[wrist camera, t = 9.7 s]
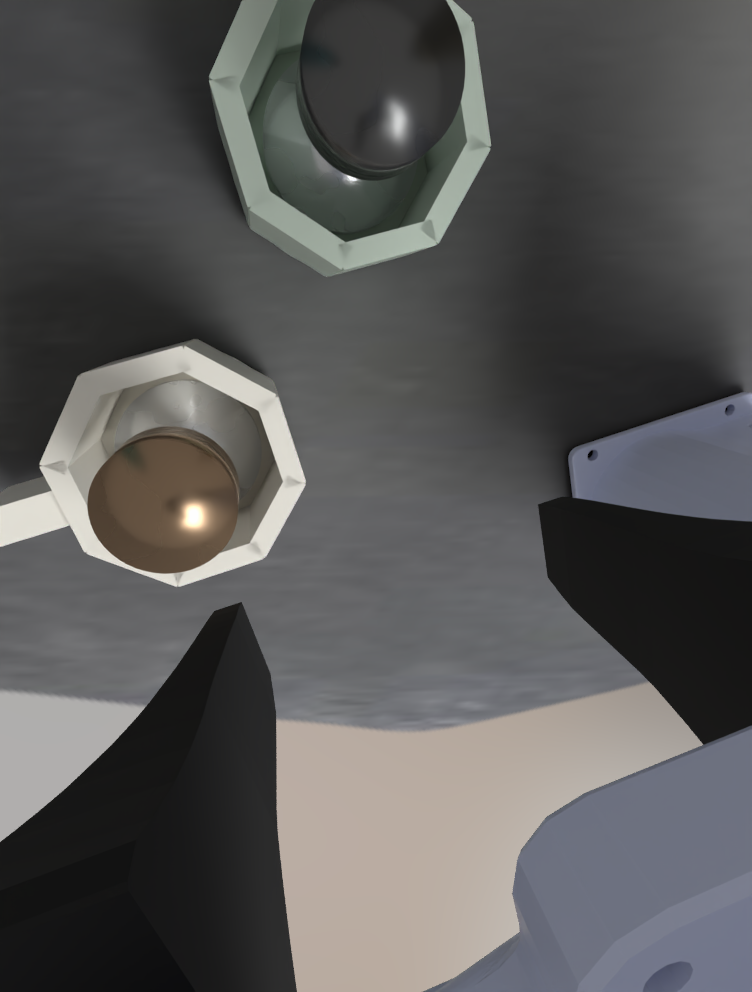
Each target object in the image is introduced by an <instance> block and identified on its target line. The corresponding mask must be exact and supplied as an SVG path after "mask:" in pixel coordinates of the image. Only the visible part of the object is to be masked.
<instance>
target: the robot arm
mask: <svg viewBox="0 0 752 992" xmlns="http://www.w3.org/2000/svg"><path fill="white" fill-rule="evenodd" d="M727 406H728V408H727V411H726V412H725V409H726V407H727ZM591 450H593V454H592V456H591V457H590V458H588V453H589V452H590V451H591ZM568 462H569V470H570V479H571V487H572V496H573V498H571V497H560V498H557V499H554V500H551V501H547V502H544V503H541V504H538V507H539V515H540V522H541V530H542V537H543V545H544V552H545V559H546V567H547V574H548V578H549V579H550V581H551V582H552V583H553V585H554V586H555V587H556V589H557V590H558V591H559V593H560V594H561V595H562V596H563V598H564V599H565V600H566V601H567V602H568V604H569V605H570V606H571V607H572V608H573V609H574V610H575V611H576V612H577V613H578V614H579V615H580V616H581V617H582V618H583V619H584V620H585V621H586V622H587V623H588V624H589V625H590V626H591V627H592V628H593V629H594V630H596V631H597V632H598V633H599V634H600V635H601V636H602V637H603V638H604V639H605V640H606V641H607V642H608V643H609V644H611V645H612V646H613V647H614V648H615V649H616V650H617V651H618V652H619V653H620V654H621V655H622V656H623V657H624V658H625V659H627V660H628V661H629V662H630V663H631V664H632V665H633V666H634V667H635V668H636V669H637V670H638V671H639V672H640V673H641V674H642V675H643V676H644V677H645V678H646V679H647V680H648V681H649V682H650V683H651V684H652V685H653V686H654V687H655V688H656V689H657V690H658V691H659V693H660V694H661V695H662V696H663V697H664V698H665V700H666V701H667V702H668V703H669V704H670V705H671V706H672V708H673V709H674V710H675V711H676V712H677V713H678V714H679V716H680V717H681V718H682V719H683V720H684V721H685V723H686V724H687V725H688V726H689V727H690V729H691V730H692V731H693V732H694V734H695V735H696V736H697V737H698V738H699V740H700V741H701V742H702V743H703V745H702V746H700V747H698V748H695V749H693V750H690V751H688V752H685V753H683V754H680V755H678V756H675V757H673V758H670V759H668V760H666V761H663V762H661V763H658V764H655V765H653V766H651V767H648V768H646V769H643V770H641V771H638V772H636V773H633V774H631V775H628V776H626V777H624V778H621V779H618V780H616V781H614V782H611V783H609V784H606V785H604V786H602V787H599V788H596V789H594V790H591V791H589V792H587V793H584V794H582V795H581V796H579V797H578V798H576V799H575V800H573V801H571V802H570V803H568V804H566V805H565V806H563V807H562V808H560V809H559V810H557V811H555V812H554V813H552V814H550V815H549V816H547V817H546V818H545V820H544V821H543V822H542V823H541V825H540V826H539V828H538V829H537V830H536V831H535V832H534V834H533V835H532V836H531V838H530V839H529V840H528V842H527V843H526V844H525V846H524V847H523V848H522V849H521V852H520V854H519V857H518V860H517V866H516V873H515V880H514V886H513V893H512V894H513V899H514V903H515V908H516V912H517V917H518V921H519V926H520V932H519V933H518V934H516V935H515V936H513V937H512V938H510V939H509V940H508V941H506V942H505V943H503V944H502V945H501V946H499V947H498V948H496V949H495V950H493V951H492V952H491V953H489V954H488V955H486V956H485V957H484V958H482V959H481V960H479V961H478V962H477V963H475V964H474V965H472V966H471V967H469V968H468V969H467V970H465V971H464V972H462V973H461V974H459V975H458V976H457V977H455V978H453V979H451V980H449V981H447V982H444V983H442V984H439V985H437V986H435V987H432V988H430V989H428V990H426V991H424V992H752V393H750V392H742V393H739V394H735V395H732V396H729V397H726V398H723V399H720V400H717V401H714V402H711V403H708V404H705V405H702V406H699V407H696V408H693V409H690V410H687V411H684V412H681V413H677V414H674V415H671V416H668V417H665V418H662V419H659V420H656V421H653V422H650V423H647V424H644V425H641V426H638V427H635V428H632V429H629V430H626V431H623V432H619V433H616V434H613V435H610V436H607V437H604V438H601V439H598V440H595V441H592V442H589V443H586V444H583V445H580V446H577V447H575V448H573V449H572V451H571V452H570V454H569V457H568ZM0 992H297V990H296V982H295V975H294V968H293V960H292V953H291V945H290V938H289V929H288V921H287V913H286V904H285V896H284V888H283V879H282V870H281V860H280V851H279V841H278V831H277V810H276V710H275V703H274V695H273V688H272V682H271V675H270V672H269V669H268V667H267V664H266V662H265V659H264V657H263V654H262V652H261V649H260V647H259V644H258V642H257V639H256V637H255V634H254V632H253V629H252V627H251V624H250V622H249V619H248V617H247V615H246V612H245V610H244V607H243V605H242V602H240V603H237V604H234V605H231V606H228V607H225V608H222V609H219V610H216V611H214V612H213V614H212V615H211V616H210V618H209V619H208V621H207V622H206V624H205V625H204V627H203V628H202V630H201V631H200V633H199V634H198V636H197V638H196V639H195V641H194V642H193V644H192V645H191V646H190V648H189V649H188V651H187V652H186V654H185V655H184V657H183V658H182V660H181V661H180V663H179V664H178V666H177V667H176V668H175V670H174V671H173V672H172V674H171V675H170V676H169V678H168V679H167V680H166V682H165V683H164V684H163V686H162V687H161V688H160V689H159V691H158V692H157V693H156V695H155V696H154V697H153V699H152V700H151V701H150V703H149V704H148V705H147V706H146V707H145V709H144V710H143V711H142V712H141V713H140V714H139V716H138V717H137V718H136V719H135V720H134V721H133V722H132V724H131V725H130V726H129V727H128V728H127V729H126V730H125V731H124V732H123V733H122V734H121V735H120V737H119V738H118V739H117V740H116V741H115V742H114V743H113V744H112V745H111V746H110V747H109V748H108V749H107V750H106V751H105V752H104V753H103V754H102V755H101V756H100V757H99V758H98V759H97V760H96V761H94V762H93V763H92V764H91V765H90V766H89V767H88V768H87V769H86V770H85V771H84V772H83V773H82V774H81V775H80V776H79V777H78V778H77V779H75V780H74V781H73V782H72V783H71V784H70V785H69V786H68V787H67V788H66V789H65V790H64V791H62V792H61V793H60V794H59V795H58V796H57V797H55V798H54V799H53V800H52V801H51V802H49V803H48V804H47V805H46V806H45V807H44V808H42V809H41V810H40V811H39V812H38V813H36V814H35V815H34V816H33V817H31V818H30V819H29V820H28V821H26V822H25V823H24V824H23V825H21V826H20V827H19V828H18V829H17V830H15V831H14V832H13V833H11V834H10V835H9V836H8V837H6V838H5V839H4V840H2V841H1V842H0Z"/></svg>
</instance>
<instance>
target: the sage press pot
mask: <svg viewBox="0 0 752 992" xmlns="http://www.w3.org/2000/svg"><path fill="white" fill-rule="evenodd" d="M314 1H315V0H242V2H241V4H240V7H239V9H238V11H237V13H236V16H235V18H234V20H233V23H232V25H231V27H230V29H229V32H228V34H227V36H226V39H225V41H224V43H223V45H222V48H221V50H220V52H219V55H218V57H217V59H216V61H215V64H214V66H213V68H212V71H211V73H210V75H209V84H210V90H211V95H212V100H213V105H214V110H215V115H216V121H217V126H218V130H219V133H220V136H221V139H222V142H223V146H224V149H225V152H226V155H227V159H228V162H229V165H230V168H231V172H232V175H233V179H234V183H235V186H236V188H237V191H238V194H239V197H240V201H241V204H242V207H243V210H244V214H245V217H246V220H247V223H248V227H249V226H250V229H251V230H253V231H254V232H256V233H257V234H259V235H261V236H262V237H264V238H265V239H267V240H268V241H270V242H271V243H273V244H274V245H275V246H277V247H278V248H279V249H281V250H282V251H283V252H285V253H286V254H287V255H289V256H291V257H293V258H295V259H296V260H298V261H300V262H303V263H304V264H306V265H308V266H309V267H311V268H312V269H314V270H315V271H317V272H318V273H320V274H322V275H323V276H325V277H326V276H327V277H330V276H334V275H337V274H341V273H345V272H348V271H352V270H356V269H359V268H364V267H367V266H370V265H374V264H378V263H381V262H385V261H389V260H392V259H396V258H400V257H403V256H406V255H409V254H412V253H415V252H418V251H421V250H424V249H427V248H430V247H432V246H435V245H437V244H439V242H440V240H441V238H442V237H443V235H444V233H445V231H446V229H447V228H448V226H449V224H450V222H451V220H452V218H453V217H454V215H455V213H456V211H457V209H458V208H459V206H460V204H461V202H462V200H463V199H464V197H465V195H466V193H467V191H468V189H469V188H470V186H471V184H472V182H473V180H474V179H475V177H476V175H477V173H478V171H479V170H480V168H481V166H482V164H483V162H484V160H485V159H486V157H487V155H488V153H489V151H490V150H491V149H490V148H489V147H490V146H491V140H490V133H489V126H488V119H487V112H486V105H485V98H484V91H483V84H482V77H481V70H480V63H479V56H478V49H477V42H476V35H475V28H474V22H471V20H472V18H471V17H470V16H469V15H468V14H467V13H466V12H465V11H464V10H462V9H461V8H460V7H459V6H458V5H457V4H456V3H455V2H454V1H453V0H446V1H447V3H448V5H449V6H450V8H451V10H452V12H453V14H454V16H455V19H456V21H457V23H458V27H459V30H460V33H461V37H462V41H463V46H464V54H465V82H464V90H463V94H462V99H461V102H460V105H459V108H458V111H457V113H456V116H455V118H454V120H453V122H452V124H451V125H450V127H449V129H448V130H447V132H446V133H445V134H444V136H443V137H442V138H441V139H440V140H439V141H438V142H437V143H436V144H435V145H434V146H433V147H432V148H431V149H430V150H429V151H428V152H426V153H425V154H424V155H423V156H422V157H421V158H420V159H419V160H418V163H417V168H416V173H415V176H414V179H413V182H412V185H411V187H410V189H409V191H408V193H407V195H406V197H405V198H404V200H403V202H402V203H401V204H400V205H399V207H398V208H397V209H396V210H395V211H394V212H393V213H392V214H391V215H390V216H389V217H388V218H386V219H385V220H384V221H382V222H381V223H379V224H378V225H376V226H374V227H372V228H370V229H368V230H365V231H362V232H359V233H354V234H333V233H331V232H330V231H328V230H327V229H325V228H324V227H322V226H321V225H319V224H318V223H316V222H315V221H313V220H312V219H310V218H309V217H307V216H306V215H304V214H303V213H301V212H300V211H298V210H297V209H295V208H294V207H292V206H291V205H289V204H288V203H287V202H285V201H284V200H282V199H281V198H280V196H279V195H278V193H277V191H276V190H275V188H274V186H273V184H272V182H271V179H270V177H269V174H268V171H267V168H266V164H265V159H264V153H263V122H264V114H265V110H266V106H267V102H268V99H269V97H270V94H271V92H272V90H273V88H274V86H275V84H276V82H277V81H278V79H279V78H280V77H281V75H282V74H283V73H284V72H285V71H286V70H287V69H288V68H289V67H290V66H291V65H292V64H293V63H294V62H296V61H297V60H298V59H299V56H300V51H301V46H302V40H303V35H304V30H305V26H306V22H307V18H308V15H309V12H310V10H311V7H312V5H313V3H314Z"/></svg>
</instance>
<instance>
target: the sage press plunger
mask: <svg viewBox="0 0 752 992" xmlns="http://www.w3.org/2000/svg"><path fill="white" fill-rule="evenodd" d="M464 82H465V54H464V46H463V41H462V37H461V33H460V30H459V27H458V23H457V21H456V19H455V16H454V14H453V12H452V10H451V8H450V6H449V5H448V3H447V1H446V0H315V1H314V3H313V5H312V7H311V10H310V12H309V15H308V18H307V22H306V26H305V30H304V35H303V40H302V46H301V51H300V56H299V59H298V60H297V61H296V62H294V63H293V64H292V65H291V66H290V67H289V68H288V69H287V70H286V71H285V72H284V73H283V74H282V75H281V77H280V78H279V79H278V81H277V82H276V84H275V86H274V88H273V90H272V92H271V94H270V97H269V99H268V102H267V106H266V110H265V114H264V122H263V153H264V159H265V164H266V168H267V171H268V174H269V177H270V179H271V182H272V184H273V186H274V188H275V190H276V191H277V193H278V195H279V196H280V198H281V199H282V200H284V201H285V202H287V203H288V204H289V205H291V206H292V207H294V208H295V209H297V210H298V211H300V212H301V213H303V214H304V215H306V216H307V217H309V218H310V219H312V220H313V221H315V222H316V223H318V224H319V225H321V226H322V227H324V228H325V229H327V230H328V231H330V232H331V233H333V234H354V233H359V232H362V231H365V230H368V229H370V228H372V227H374V226H376V225H378V224H379V223H381V222H382V221H384V220H385V219H386V218H388V217H389V216H390V215H391V214H392V213H393V212H394V211H395V210H396V209H397V208H398V207H399V205H400V204H401V203H402V202H403V200H404V198H405V197H406V195H407V193H408V191H409V189H410V187H411V185H412V182H413V179H414V176H415V173H416V168H417V163H418V160H419V159H420V158H421V157H422V156H423V155H424V154H425V153H426V152H428V151H429V150H430V149H431V148H432V147H433V146H434V145H435V144H436V143H437V142H438V141H439V140H440V139H441V138H442V137H443V136H444V134H445V133H446V132H447V130H448V129H449V127H450V125H451V124H452V122H453V120H454V118H455V116H456V113H457V111H458V108H459V105H460V102H461V99H462V94H463V90H464Z"/></svg>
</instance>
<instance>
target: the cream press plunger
mask: <svg viewBox="0 0 752 992" xmlns="http://www.w3.org/2000/svg"><path fill="white" fill-rule="evenodd" d="M114 450H115V453H114V454H113V455H112V456H111V457H110V458H109V459H108V460H107V461H106V462H105V463H104V464H103V465H102V467H101V468H100V469H99V470H98V472H97V473H96V475H95V477H94V479H93V480H92V483H91V486H90V489H89V493H88V501H87V509H88V516H89V520H90V524H91V526H92V529H93V531H94V533H95V535H96V536H97V538H98V540H99V541H100V542H101V544H102V545H103V546H104V547H105V548H106V549H107V550H108V551H109V552H110V553H111V554H112V555H113V556H115V557H116V558H117V559H119V560H120V561H122V562H124V563H125V564H127V565H129V566H132V567H134V568H136V569H140V570H143V571H147V572H152V573H161V574H171V573H180V572H185V571H189V570H192V569H195V568H197V567H200V566H202V565H204V564H205V563H207V562H209V561H210V560H212V559H213V558H214V557H216V556H217V555H218V554H219V553H220V552H221V551H222V550H223V549H224V547H225V546H226V545H227V544H228V542H229V540H230V539H231V537H232V535H233V532H234V530H235V527H236V523H237V517H238V505H239V501H240V500H241V499H242V498H243V497H244V496H245V495H246V494H247V492H248V491H249V490H250V489H251V487H252V485H253V484H254V482H255V480H256V478H257V475H258V473H259V469H260V465H261V458H262V448H261V439H260V434H259V431H258V427H257V425H256V423H255V420H254V419H253V417H252V415H251V414H250V412H249V411H248V409H247V408H246V407H245V406H244V405H243V404H242V403H241V402H240V401H239V400H237V399H235V398H233V397H231V396H229V395H227V394H225V393H223V392H221V391H219V390H217V389H215V388H213V387H211V386H209V385H207V384H206V383H204V382H202V381H199V380H190V379H181V380H173V381H168V382H164V383H161V384H158V385H156V386H154V387H152V388H150V389H148V390H147V391H145V392H144V393H143V394H141V395H140V396H139V397H137V398H136V399H135V400H134V401H133V402H132V403H131V404H130V405H129V406H128V408H127V409H126V410H125V411H124V413H123V415H122V417H121V419H120V421H119V423H118V426H117V429H116V434H115V441H114Z"/></svg>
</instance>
